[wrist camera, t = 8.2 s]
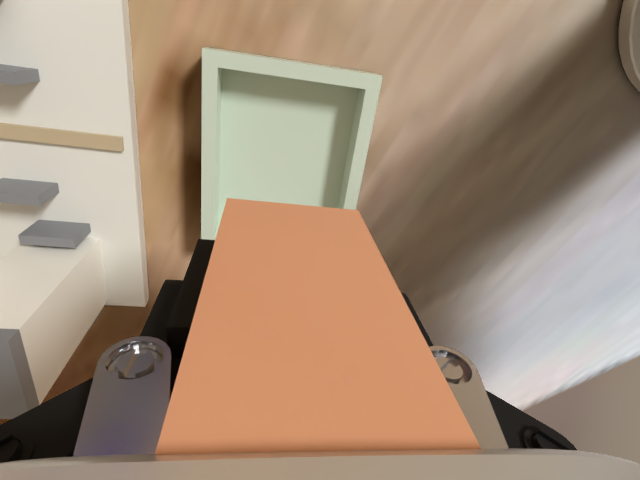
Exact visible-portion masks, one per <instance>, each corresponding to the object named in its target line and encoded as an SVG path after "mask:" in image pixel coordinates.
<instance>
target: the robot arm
mask: <svg viewBox="0 0 640 480" xmlns="http://www.w3.org/2000/svg"><path fill="white" fill-rule="evenodd" d="M619 51H620V56H621V61H622V66H623V68H624V70H625V72H626V74H627V77H628V79H629V81H630V82H631V83H632V84H633V85H634V86H635V88H636V89H637V90H638V91H639V92H640V0H624V1H623V5H622V11H621V17H620V23H619ZM214 243H215V240H207V239H199V240H198V242H197V245H196V248H195V250H194V253H193V256H192V258H191V261H190V264H189V267H188V269H187V272H186V275H185V277H184V280H183V281H182V280H165V282H164V283H163V286H162V288H161V290H160V292H159V295H158V297H157V299H156V301H155V304H154V306H153V308H152V310H151V313H150V315H149V317H148V319H147V322H146V324H145V326H144V328H143V331H142V333H141V335H140V336H137V337H132V338H127V339H125V340H122V341H119V342H117V343H115V344H114V345H112V346H110V347H109V348H108V349H107V350H106V351H105V352H104V353H103V354H102V355H101V356H100V358H99V360H98V362H97V366H96V370H95V373H94V377H93V378H91V379H90V380H88V381H86V382H84V383H82V384H80V385H78V386H76V387H74V388H72V389H70V390H68V391H66V392H64V393H62V394H60V395H58V396H56V397H54V398H52V399H50V400H48V401H46V402H44V403H43V404H41V405H39V406H37V407H35V408H33V409H31V410H29V411H27V412H25V413H23V414H21V415H19V416H17V417H15V418H13V419H11V420H9V421H7V422H5V423H3V424H1V425H0V480H640V464H639V463H636V462H633V461H630V460H627V459H622V458H618V457H613V456H609V455H604V454H599V453H591V452H583V451H577V449H576V448H575V447H574V445H572V444H571V443H570V442H569V441H568V440H567V439H566V438H565V437H564V436H562V435H561V434H559V433H558V432H556V431H555V430H553V429H551V428H550V427H548V426H546V425H545V424H543V423H541V422H540V421H538V420H536V419H535V418H533V417H531V416H529V415H528V414H526V413H524V412H522V411H521V410H519V409H517V408H516V407H514V406H512V405H510V404H509V403H507V402H505V401H504V400H502V399H500V398H498V397H497V396H495V395H493V394H492V393H490V392H488V391H486V390H485V388H484V385H483V383H482V380H481V378H480V375H479V373H478V370H477V369H476V367H475V365H474V364H473V363H472V362H471V361H470V360H469V359H468V358H467V357H466V356H464V355H463V354H462V353H460V352H458V351H456V350H454V349H452V348H448V347H445V346H433V344H432V342H431V340H430V338H429V337H428V335H427V333H426V331H425V329H424V327H423V325H422V323H421V321H420V320H419V318H418V316H417V314H416V312H415V310H414V308H413V306H412V305H411V303H410V301H409V299H408V297H407V296H406V294H404V293H401V294H402V296H403V298H404V300H405V302H406V304H407V306H408V308H409V310H410V311H411V313H412V315H413V317H414V319H415V321H416V323H417V325H418V327H419V329H420V331H421V333H422V335H423V337H424V339H425V340H426V342H427V344H428V346H429V348H430V350H431V352H432V354H433V356H434V358H435V360H436V362H437V364H438V366H439V368H440V370H441V371H442V373H443V375H444V377H445V379H446V381H447V383H448V385H449V387H450V389H451V391H452V393H453V395H454V397H455V399H456V401H457V402H458V404H459V406H460V408H461V410H462V412H463V414H464V416H465V418H466V420H467V422H468V424H469V426H470V428H471V430H472V431H473V433H474V435H475V437H476V439H477V441H478V443H479V445H480V447H481V449H419V450H348V451H288V452H236V453H193V454H155V452H156V448H157V445H158V441H159V438H160V434H161V430H162V427H163V423H164V420H165V416H166V413H167V409H168V406H169V402H170V399H171V395H172V391H173V388H174V384H175V381H176V377H177V374H178V370H179V367H180V363H181V360H182V356H183V353H184V349H185V345H186V342H187V338H188V335H189V331H190V328H191V324H192V321H193V317H194V314H195V310H196V306H197V303H198V299H199V296H200V292H201V289H202V285H203V282H204V278H205V275H206V271H207V267H208V264H209V260H210V257H211V253H212V250H213V246H214ZM381 255H382V254H381ZM382 257H383V256H382ZM383 259H384V258H383ZM384 261H385V260H384ZM385 263H386V262H385ZM386 265H387V264H386ZM387 267H388V266H387ZM388 269H389V268H388ZM389 271H390V270H389ZM390 273H391V272H390ZM391 275H392V274H391ZM392 277H393V276H392ZM393 279H394V278H393ZM395 282H396V281H395ZM396 284H397V283H396ZM397 286H398V285H397ZM398 288H399V287H398ZM399 290H400V289H399ZM400 292H401V291H400Z"/></svg>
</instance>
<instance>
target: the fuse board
mask: <svg viewBox="0 0 640 480" xmlns="http://www.w3.org/2000/svg"><path fill="white" fill-rule="evenodd" d="M86 237H94V238H100V242H101V250H102V257H103V265H104V273H105V280H106V288H107V296H108V300H107V302H106V303H105V305H117V306H137V307H145V306H146V304H147V302H148V300H149V289H148V275H147V261H146V247H145V233H144V219H143V204H142V190H141V176H140V162H139V148H138V134H137V119H136V105H135V91H134V77H133V63H132V48H131V34H130V20H129V6H128V0H0V259H1V258H2V257H3V256H5V255H6V254H7V253H8V252H10V251H11V250H12V249H13V248H15V247H16V246H17V245H18V244H24V245H39V246H53V247H67V248H76V247H77V246H78V245H79V244H80V243H81V242H82V241H83V240H84V239H85V238H86ZM101 311H102V310H101ZM101 311H100V313H101ZM100 313H99V314H100ZM99 314H98V316H99ZM98 316H97V317H98ZM97 317H96V319H97ZM96 319H95V320H94V322H95V321H96ZM94 322H93V324H94ZM93 324H92V325H93ZM92 325H91V327H92ZM91 327H90V328H91ZM90 328H89V330H90ZM89 330H88V331H89Z"/></svg>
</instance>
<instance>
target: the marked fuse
mask: <svg viewBox="0 0 640 480" xmlns="http://www.w3.org/2000/svg"><path fill="white" fill-rule="evenodd" d="M419 449H481V447H480V445H479V443H478V441H477V439H476V437H475V435H474V433H473V431H472V430H471V428H470V426H469V424H468V422H467V420H466V418H465V416H464V414H463V412H462V410H461V408H460V406H459V404H458V402H457V401H456V399H455V397H454V395H453V393H452V391H451V389H450V387H449V385H448V383H447V381H446V379H445V377H444V375H443V373H442V371H441V370H440V368H439V366H438V364H437V362H436V360H435V358H434V356H433V354H432V352H431V350H430V348H429V346H428V344H427V342H426V340H425V339H424V337H423V335H422V333H421V331H420V329H419V327H418V325H417V323H416V321H415V319H414V317H413V315H412V313H411V311H410V310H409V308H408V306H407V304H406V302H405V300H404V298H403V296H402V294H401V292H400V290H399V288H398V286H397V284H396V282H395V280H394V279H393V277H392V275H391V273H390V271H389V269H388V267H387V265H386V263H385V261H384V259H383V257H382V255H381V253H380V251H379V249H378V248H377V246H376V244H375V242H374V240H373V238H372V236H371V234H370V232H369V230H368V228H367V226H366V224H365V222H364V220H363V219H362V217H361V215H360V213H359V211H358V210H351V209H340V208H330V207H319V206H308V205H297V204H286V203H275V202H265V201H254V200H243V199H232V198H227V200H226V204H225V207H224V211H223V214H222V218H221V221H220V225H219V229H218V232H217V236H216V239H215V243H214V246H213V250H212V253H211V257H210V260H209V264H208V267H207V271H206V275H205V278H204V282H203V285H202V289H201V292H200V296H199V299H198V303H197V306H196V310H195V314H194V317H193V321H192V324H191V328H190V331H189V335H188V338H187V342H186V345H185V349H184V353H183V356H182V360H181V363H180V367H179V370H178V374H177V377H176V381H175V384H174V388H173V391H172V395H171V399H170V402H169V406H168V409H167V413H166V416H165V420H164V423H163V427H162V430H161V434H160V438H159V441H158V445H157V448H156V452H155V454H193V453H236V452H288V451H348V450H419Z"/></svg>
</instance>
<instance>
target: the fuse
mask: <svg viewBox="0 0 640 480" xmlns="http://www.w3.org/2000/svg"><path fill="white" fill-rule="evenodd" d="M107 300H108V296H107V288H106V280H105V273H104V265H103V257H102V250H101V242H100V238H94V237H86V238H85V239H84V240H83V241H82V242H81V243H80V244H79V245H78V246H77V247H76V248H67V247H53V246H39V245H24V244H18V245H17V246H16V247H15V248H13V249H12V250H11V251H10V252H8V253H7V254H6V255H5V256H3V257H2V258H1V259H0V419H13V418H15V417H17V416H19V415H21V414H23V413H25V412H27V411H29V410H31V409H33V408H35V407H37V406H39V405H40V404H41V403H42V401H43V400H44V398H45V397H46V395H47V393H48V392H49V390H50V389H51V387H52V386H53V384H54V383H55V381H56V379H57V378H58V376H59V375H60V373H61V372H62V370H63V369H64V367H65V365H66V364H67V362H68V361H69V359H70V358H71V356H72V355H73V353H74V351H75V350H76V348H77V347H78V345H79V344H80V342H81V341H82V339H83V338H84V336H85V334H86V333H87V331H88V330H89V328H90V327H91V325H92V324H93V322H94V320H95V319H96V317H97V316H98V314H99V313H100V311H101V310H102V308H103V306H104V305H105V303H106V302H107Z"/></svg>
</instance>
